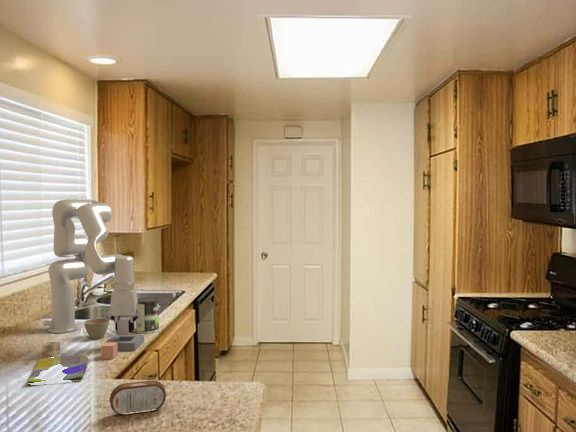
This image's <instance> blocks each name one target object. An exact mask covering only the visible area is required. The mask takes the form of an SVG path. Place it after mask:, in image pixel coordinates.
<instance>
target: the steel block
mask: <svg viewBox="0 0 576 432" xmlns="http://www.w3.org/2000/svg"><path fill="white" fill-rule="evenodd" d="M129 323H130V318H129V317H120V319H118V320H117V333H116V335H132V333H129Z"/></svg>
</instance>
